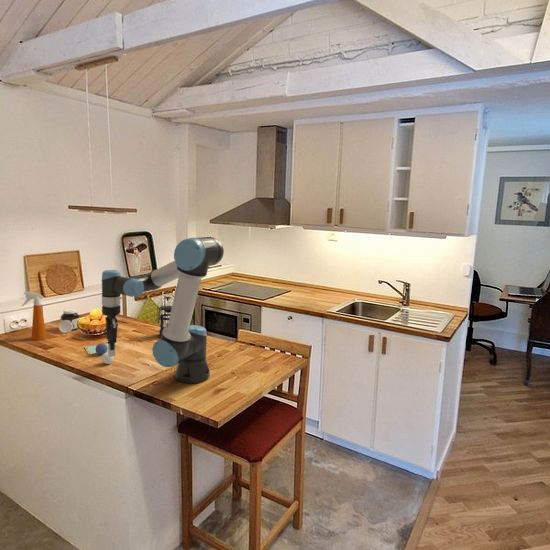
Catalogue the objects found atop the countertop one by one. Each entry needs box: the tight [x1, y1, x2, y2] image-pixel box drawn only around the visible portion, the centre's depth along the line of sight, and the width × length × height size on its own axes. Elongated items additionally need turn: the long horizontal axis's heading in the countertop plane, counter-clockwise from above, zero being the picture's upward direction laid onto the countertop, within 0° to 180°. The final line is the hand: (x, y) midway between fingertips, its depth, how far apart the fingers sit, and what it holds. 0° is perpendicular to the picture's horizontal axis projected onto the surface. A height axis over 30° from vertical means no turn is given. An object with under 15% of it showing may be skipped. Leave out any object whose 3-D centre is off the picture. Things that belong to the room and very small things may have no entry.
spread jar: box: [58, 308, 81, 334], centre depth 238 cm, size 12×11×12 cm
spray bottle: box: [21, 291, 47, 341], centre depth 220 cm, size 7×11×26 cm, turn 123°
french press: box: [158, 296, 172, 338], centre depth 236 cm, size 12×9×23 cm
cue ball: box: [101, 352, 115, 365], centre depth 193 cm, size 6×6×6 cm
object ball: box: [96, 342, 107, 355], centre depth 204 cm, size 6×6×6 cm
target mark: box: [84, 343, 108, 355], centre depth 211 cm, size 12×12×1 cm
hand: (111, 356), depth 185 cm, fingers closed
